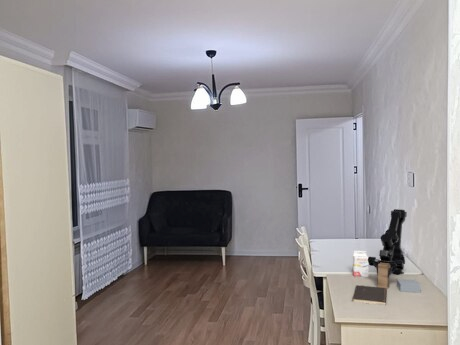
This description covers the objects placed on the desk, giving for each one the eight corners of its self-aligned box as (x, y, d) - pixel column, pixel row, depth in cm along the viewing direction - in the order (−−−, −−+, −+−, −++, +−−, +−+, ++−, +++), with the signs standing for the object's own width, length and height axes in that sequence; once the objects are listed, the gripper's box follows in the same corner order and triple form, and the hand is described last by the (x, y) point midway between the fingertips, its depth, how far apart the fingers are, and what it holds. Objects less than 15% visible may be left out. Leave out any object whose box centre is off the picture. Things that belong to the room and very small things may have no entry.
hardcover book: (352, 302, 231) (352, 298, 231) (356, 289, 253) (356, 285, 253) (386, 306, 226) (386, 301, 226) (386, 292, 248) (386, 288, 247)
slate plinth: (396, 286, 256) (396, 279, 256) (415, 286, 254) (415, 279, 254) (400, 291, 246) (400, 284, 246) (420, 292, 245) (420, 285, 244)
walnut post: (380, 285, 258) (380, 262, 257) (389, 286, 255) (389, 263, 254) (377, 287, 254) (378, 264, 253) (387, 289, 251) (387, 265, 250)
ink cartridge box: (354, 276, 276) (354, 252, 275) (352, 274, 281) (352, 250, 280) (368, 276, 275) (368, 252, 274) (367, 274, 280) (367, 250, 279)
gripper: (368, 242, 261) (363, 265, 252) (403, 245, 251) (398, 270, 243) (372, 253, 268) (366, 276, 260) (405, 257, 259) (401, 281, 250)
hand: (382, 276), depth 253 cm, fingers closed on walnut post, 5 cm apart
